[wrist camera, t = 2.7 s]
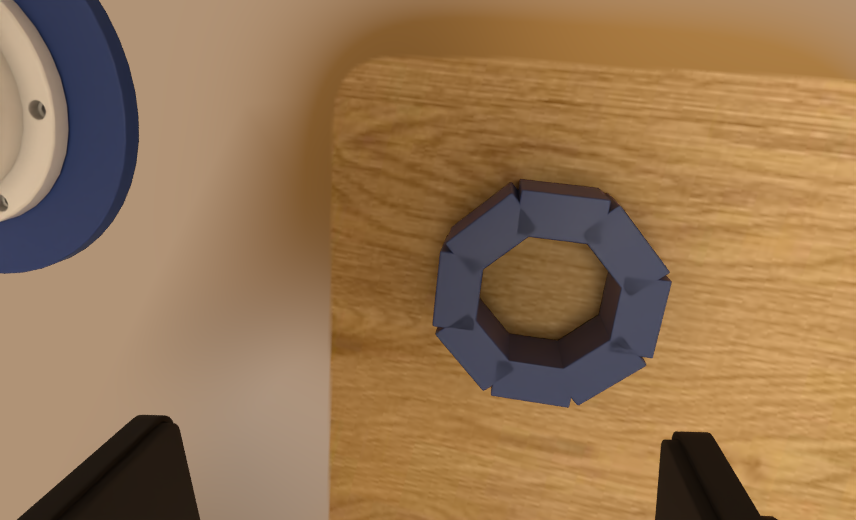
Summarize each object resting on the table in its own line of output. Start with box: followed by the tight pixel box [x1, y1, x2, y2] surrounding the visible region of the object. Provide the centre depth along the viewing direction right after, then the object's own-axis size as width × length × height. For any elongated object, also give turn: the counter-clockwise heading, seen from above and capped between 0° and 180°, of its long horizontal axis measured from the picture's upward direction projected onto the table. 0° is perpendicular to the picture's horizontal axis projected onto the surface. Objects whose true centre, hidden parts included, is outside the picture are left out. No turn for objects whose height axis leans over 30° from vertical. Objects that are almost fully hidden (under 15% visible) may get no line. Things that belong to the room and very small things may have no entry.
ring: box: [433, 179, 672, 408], centre depth 25 cm, size 10×10×3 cm
